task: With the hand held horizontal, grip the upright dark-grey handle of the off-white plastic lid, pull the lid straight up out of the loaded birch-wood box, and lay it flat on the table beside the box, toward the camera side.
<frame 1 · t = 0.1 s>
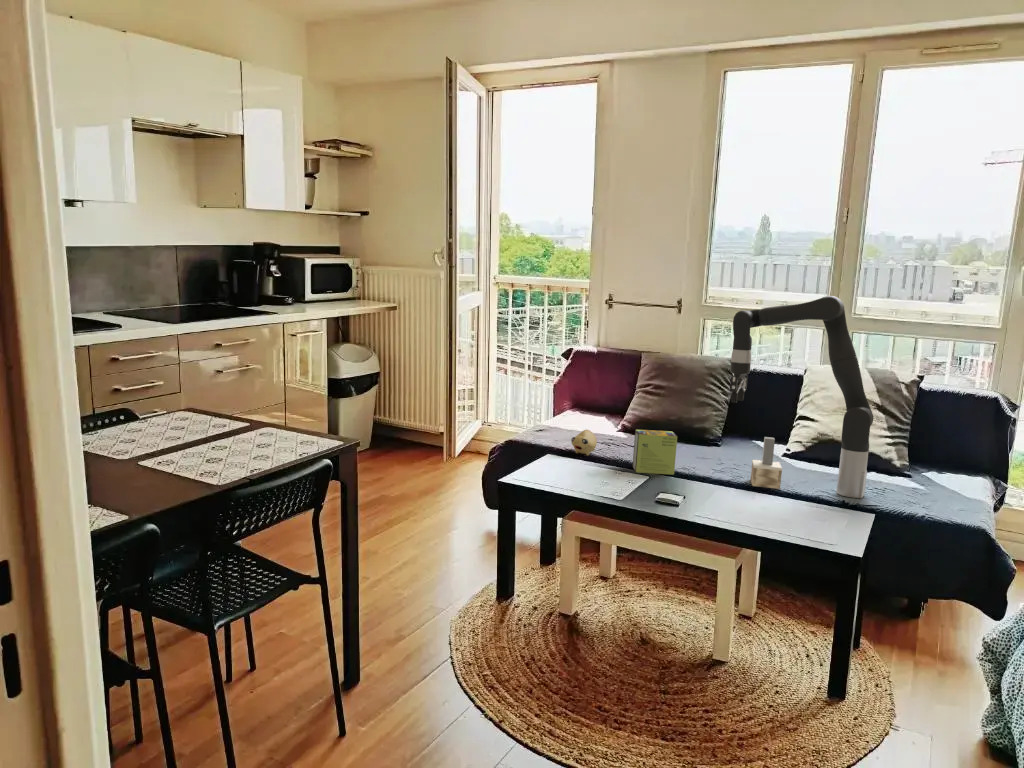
hand: (737, 401, 306), 29 cm above the table, tool pointing down, fingers open, 8 cm apart
yellow toy creature: (582, 454, 329), on the table
protein box: (652, 471, 307), on the table
storage box: (764, 484, 295), on the table
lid: (766, 470, 294), point 5 cm above the table, touching storage box
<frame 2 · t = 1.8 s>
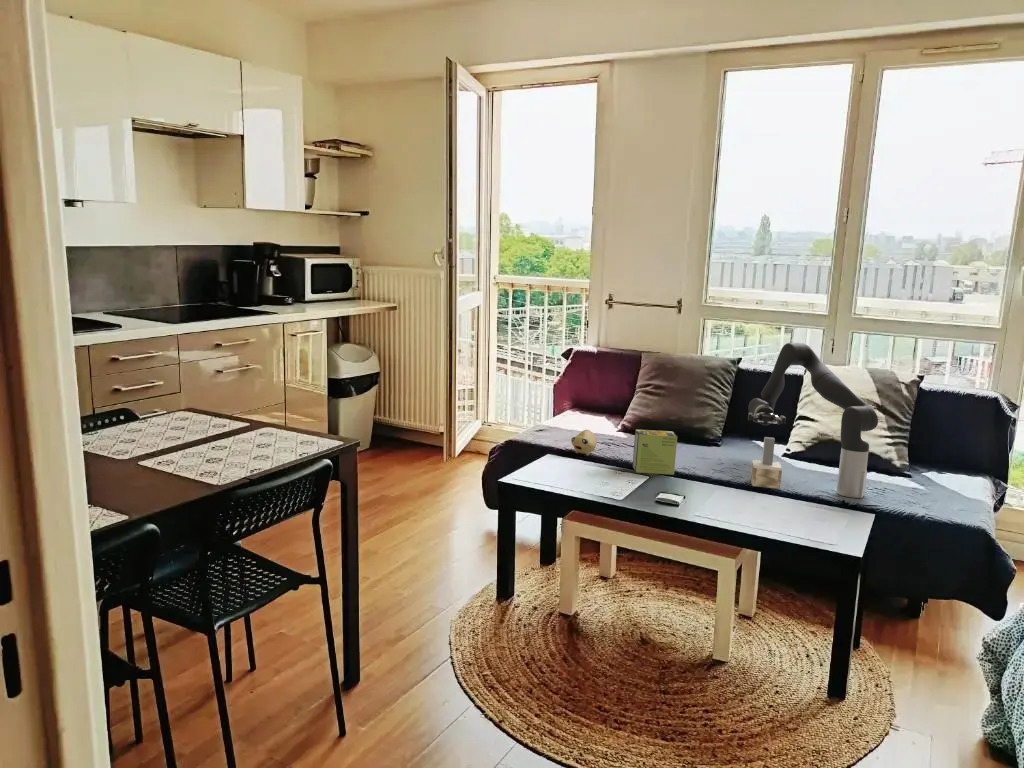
hand: (768, 421, 303), 23 cm above the table, tool horizontal, fingers open, 8 cm apart
nothing on the table moved.
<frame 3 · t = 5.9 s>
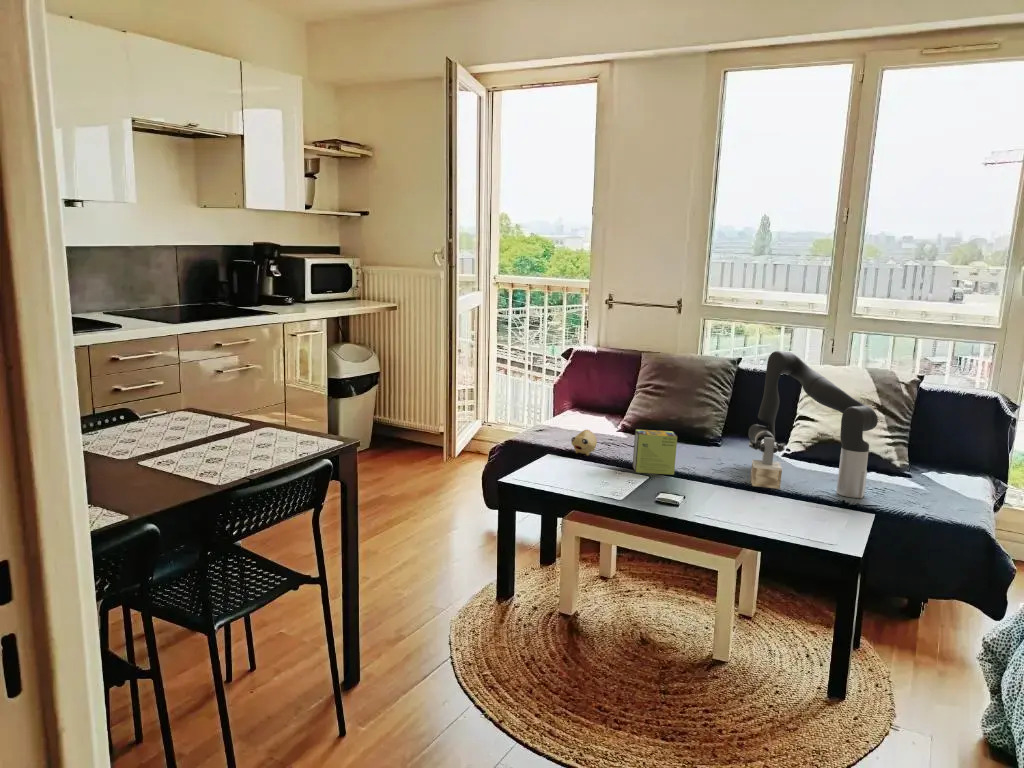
hand: (769, 449, 290), 14 cm above the table, tool horizontal, fingers closed on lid, 3 cm apart
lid: (766, 470, 294), point 5 cm above the table, touching gripper, storage box
everything else where it was.
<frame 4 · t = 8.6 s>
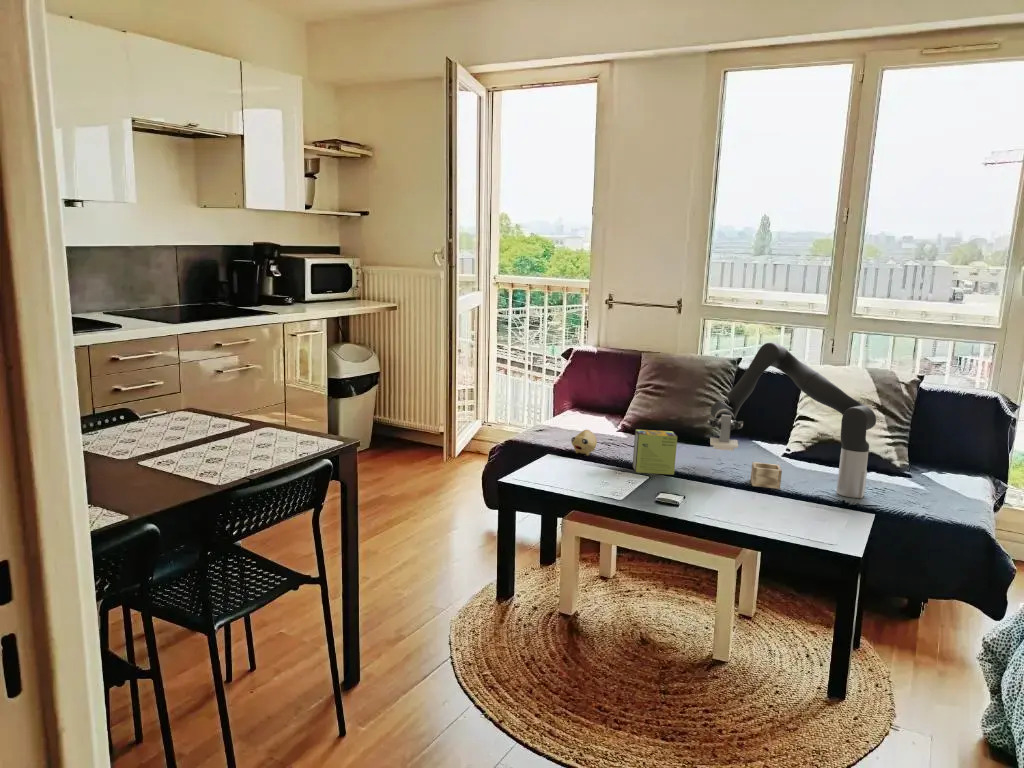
hand: (725, 427, 288), 22 cm above the table, tool horizontal, fingers closed on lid, 3 cm apart
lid: (723, 447, 292), point 14 cm above the table, touching gripper
everything else where it was.
when the fingers open (10 cm above the table, at t = 11.3 s): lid drops 1 cm, on the table.
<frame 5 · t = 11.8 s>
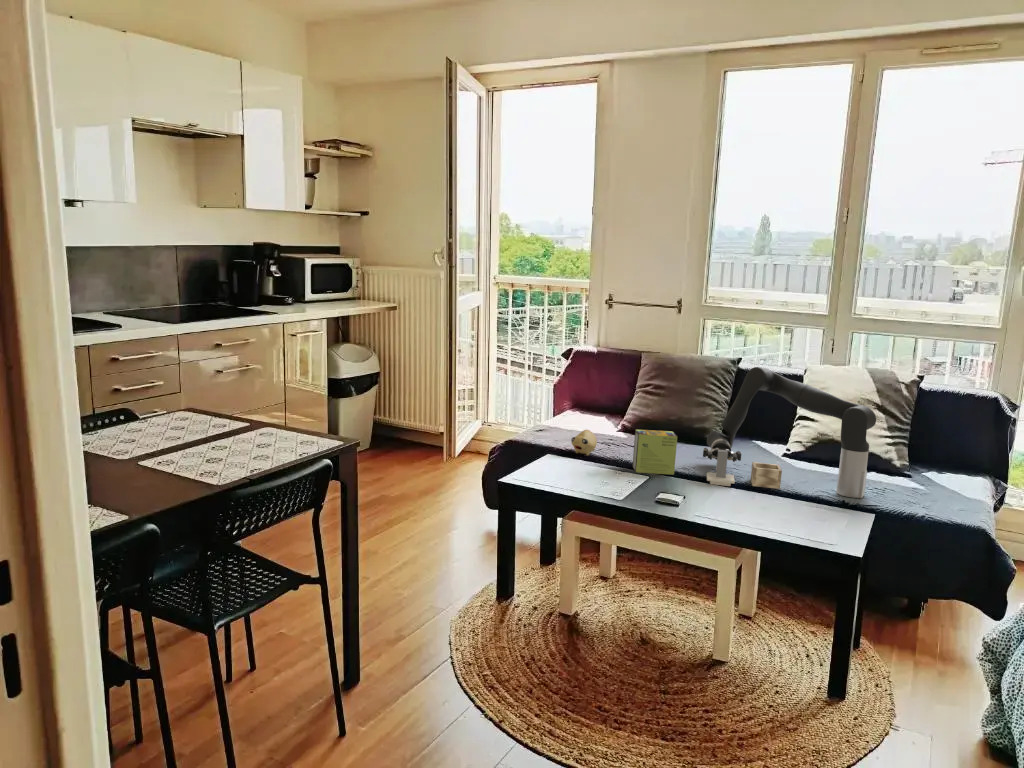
hand: (722, 458, 290), 10 cm above the table, tool horizontal, fingers open, 8 cm apart
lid: (719, 482, 293), on the table
everything else where it was.
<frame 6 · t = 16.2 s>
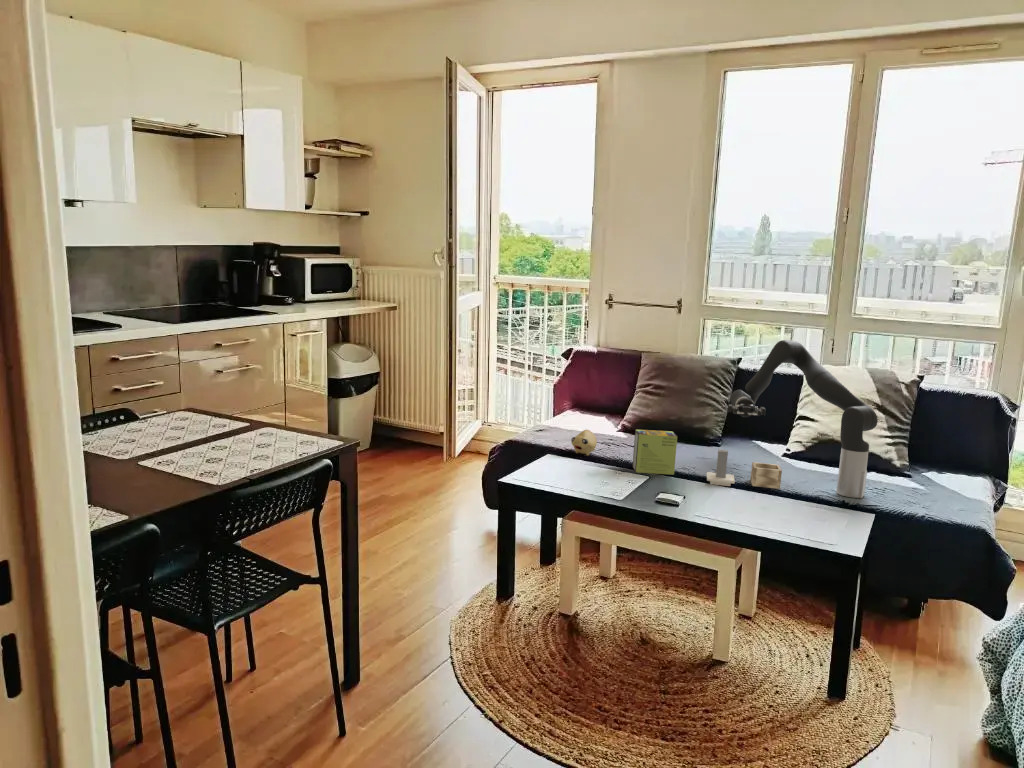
hand: (747, 412, 300), 26 cm above the table, tool horizontal, fingers open, 8 cm apart
nothing on the table moved.
at the end: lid inside the target area (0.1 cm from its centre), on the table; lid tilted 0°; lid touching table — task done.
